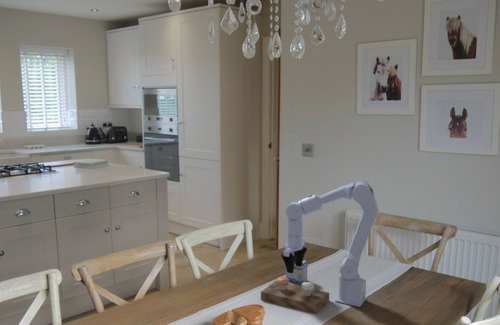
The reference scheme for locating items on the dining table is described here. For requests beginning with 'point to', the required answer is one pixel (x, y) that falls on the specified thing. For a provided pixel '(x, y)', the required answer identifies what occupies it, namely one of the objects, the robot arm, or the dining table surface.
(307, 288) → the white egg
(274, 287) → the board
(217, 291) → the dining table surface
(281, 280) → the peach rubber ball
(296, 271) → the medicine box
